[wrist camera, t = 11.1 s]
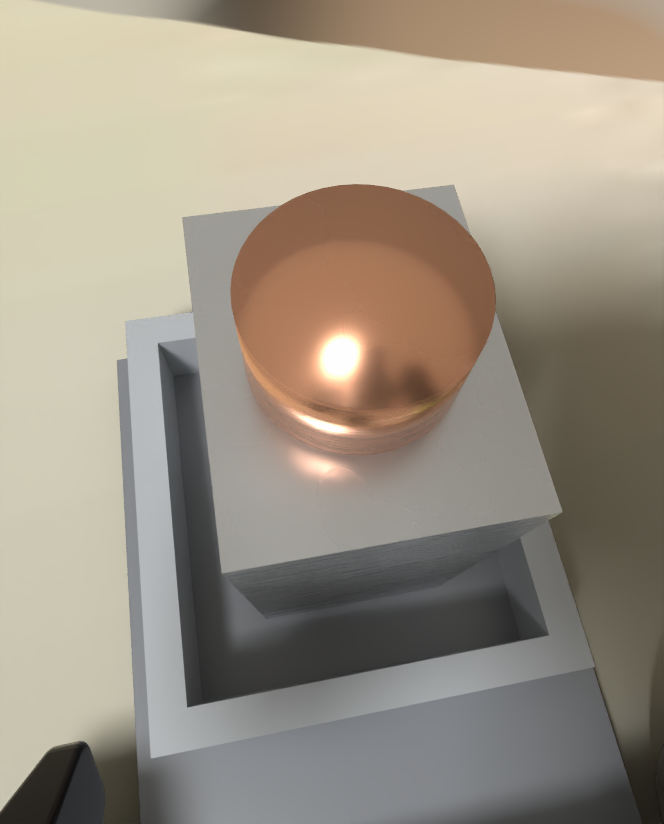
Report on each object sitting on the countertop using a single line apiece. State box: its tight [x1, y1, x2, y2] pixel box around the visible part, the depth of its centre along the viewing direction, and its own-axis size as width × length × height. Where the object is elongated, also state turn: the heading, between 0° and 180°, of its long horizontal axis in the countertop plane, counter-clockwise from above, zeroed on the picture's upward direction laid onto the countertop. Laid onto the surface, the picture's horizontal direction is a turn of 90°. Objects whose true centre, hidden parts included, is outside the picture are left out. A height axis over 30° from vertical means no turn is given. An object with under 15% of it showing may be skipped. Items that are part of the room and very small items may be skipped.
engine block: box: [182, 184, 563, 620], centre depth 15 cm, size 7×6×12 cm
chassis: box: [117, 312, 664, 824], centre depth 17 cm, size 22×21×7 cm
